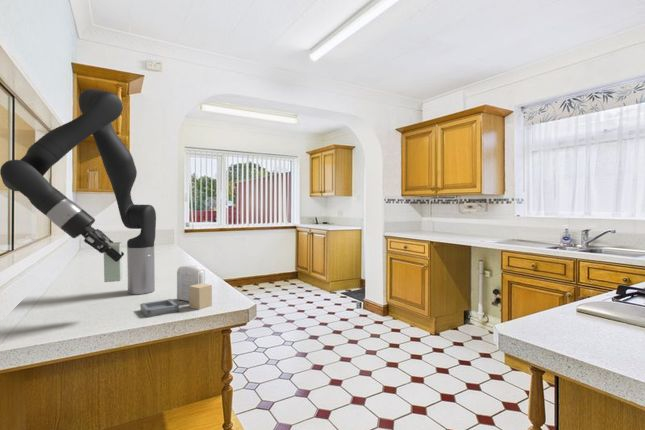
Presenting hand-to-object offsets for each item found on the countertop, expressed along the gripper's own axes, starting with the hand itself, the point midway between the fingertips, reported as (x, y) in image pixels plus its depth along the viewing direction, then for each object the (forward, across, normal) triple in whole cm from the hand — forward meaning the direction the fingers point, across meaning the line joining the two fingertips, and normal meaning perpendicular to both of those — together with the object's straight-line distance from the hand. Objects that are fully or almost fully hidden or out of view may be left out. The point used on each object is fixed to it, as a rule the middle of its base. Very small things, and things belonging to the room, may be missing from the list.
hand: (120, 257), depth 107 cm
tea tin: (+3, 0, +6) cm, 7 cm away
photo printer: (+27, +11, -1) cm, 29 cm away
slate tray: (+20, +1, +5) cm, 21 cm away
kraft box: (+29, +2, -3) cm, 29 cm away
